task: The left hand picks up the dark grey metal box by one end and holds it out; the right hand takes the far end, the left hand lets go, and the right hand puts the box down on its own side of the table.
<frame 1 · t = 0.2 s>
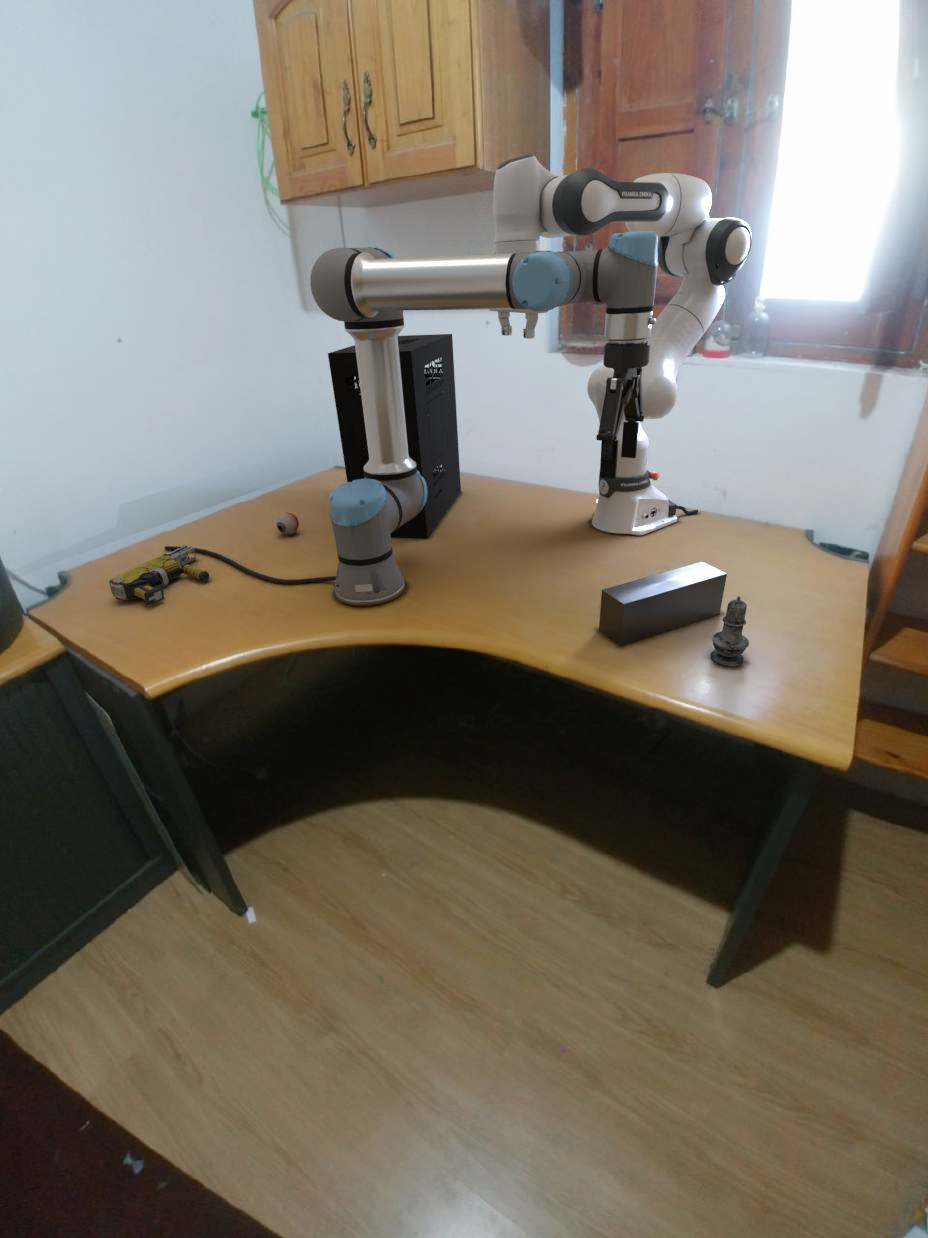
left hand: (618, 467, 111), 27 cm above the table, tool pointing down, fingers open, 13 cm apart
right hand: (517, 336, 125), 48 cm above the table, tool pointing down, fingers open, 8 cm apart
eyeball: (289, 534, 165), on the table
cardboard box: (412, 512, 176), on the table
box: (660, 621, 115), on the table
dark grey chess piece: (726, 658, 104), on the table
toy gun: (175, 583, 142), on the table
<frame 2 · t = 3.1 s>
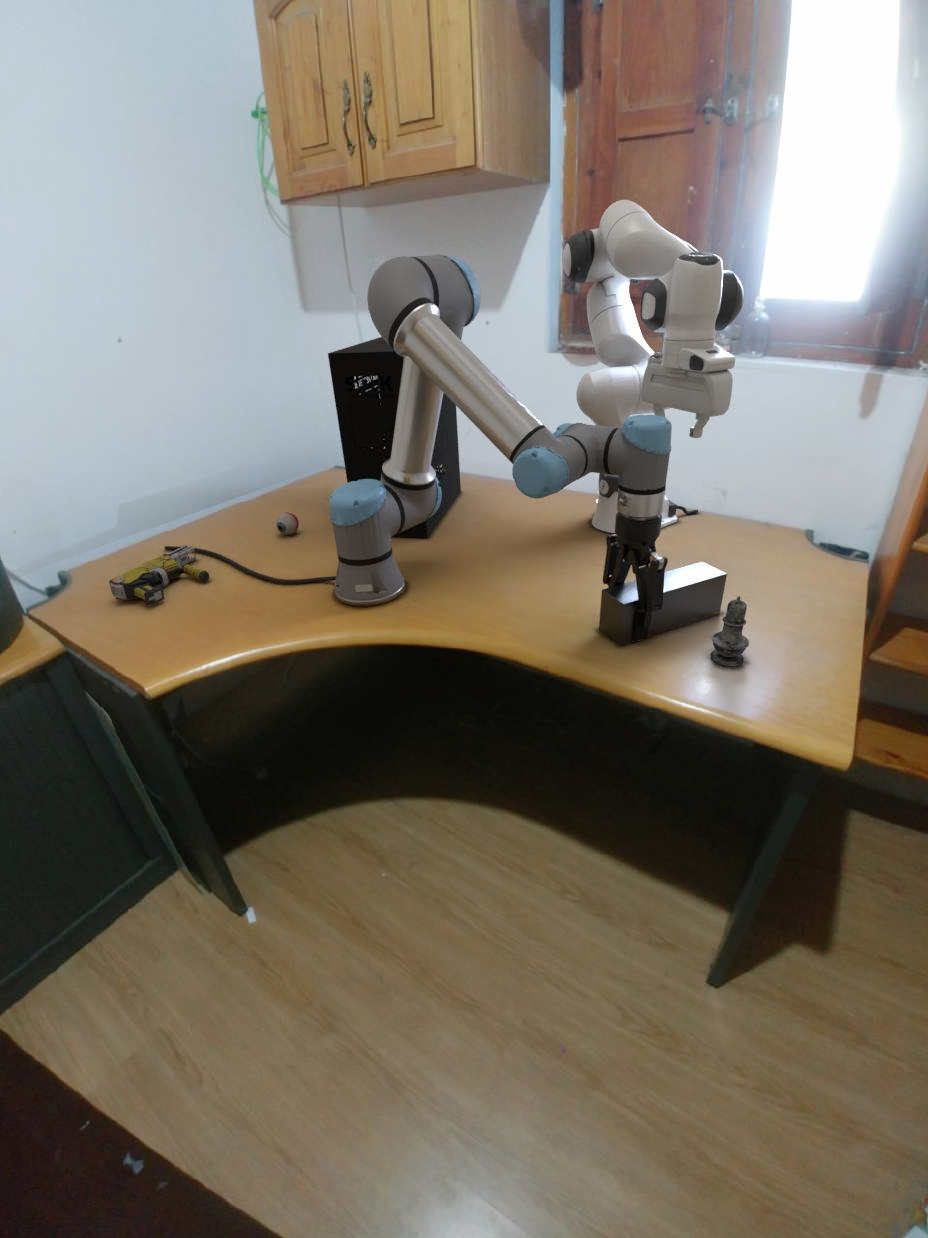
left hand: (627, 630, 113), 0 cm above the table, tool pointing down, fingers closed on box, 6 cm apart
right hand: (677, 432, 117), 31 cm above the table, tool pointing down, fingers open, 8 cm apart
box: (660, 621, 115), on the table, touching left hand
everything else where it was.
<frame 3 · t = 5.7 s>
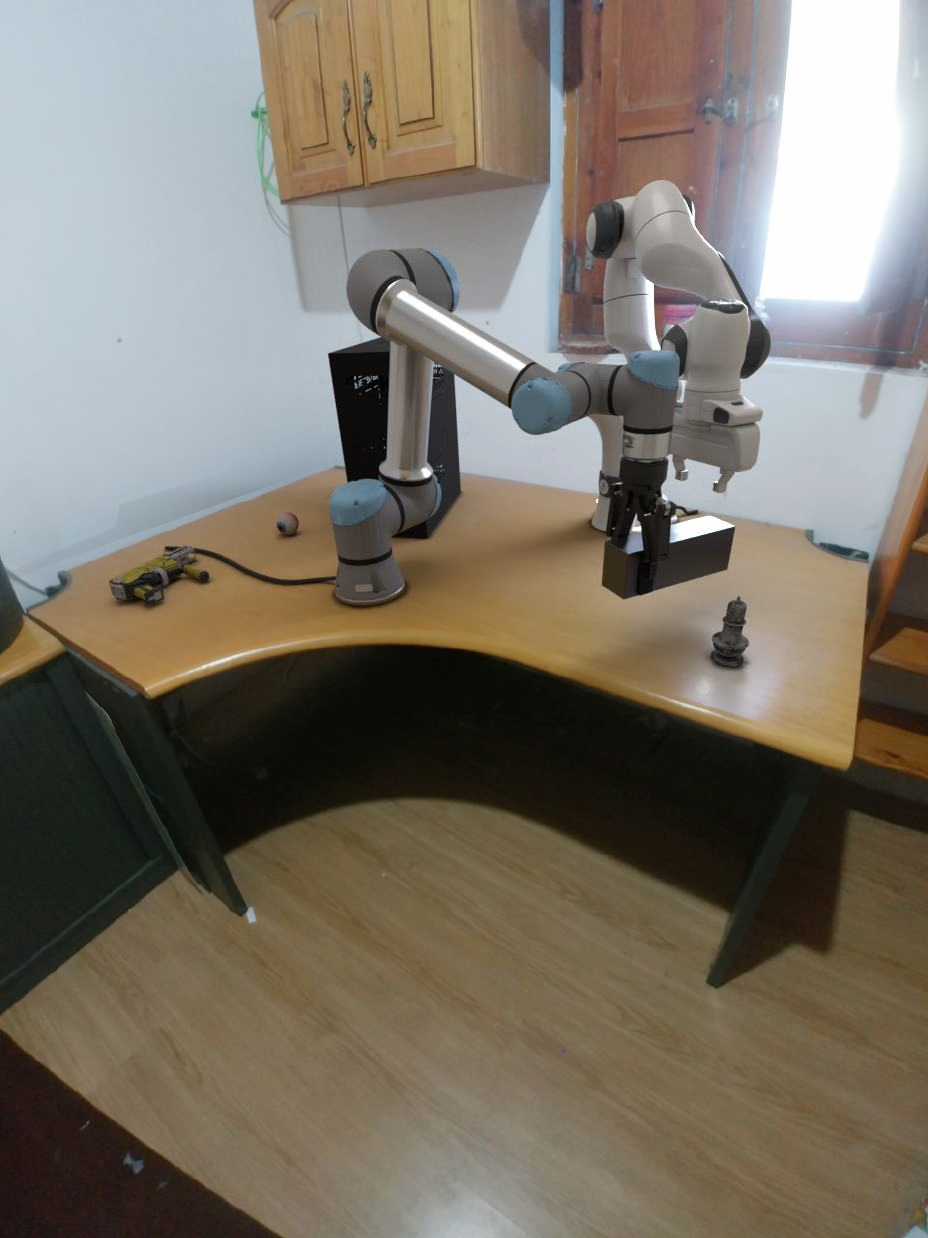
left hand: (631, 584, 108), 10 cm above the table, tool pointing down, fingers closed on box, 6 cm apart
right hand: (699, 485, 110), 24 cm above the table, tool pointing down, fingers open, 8 cm apart
box: (665, 577, 111), point 9 cm above the table, touching left hand
everything else where it was.
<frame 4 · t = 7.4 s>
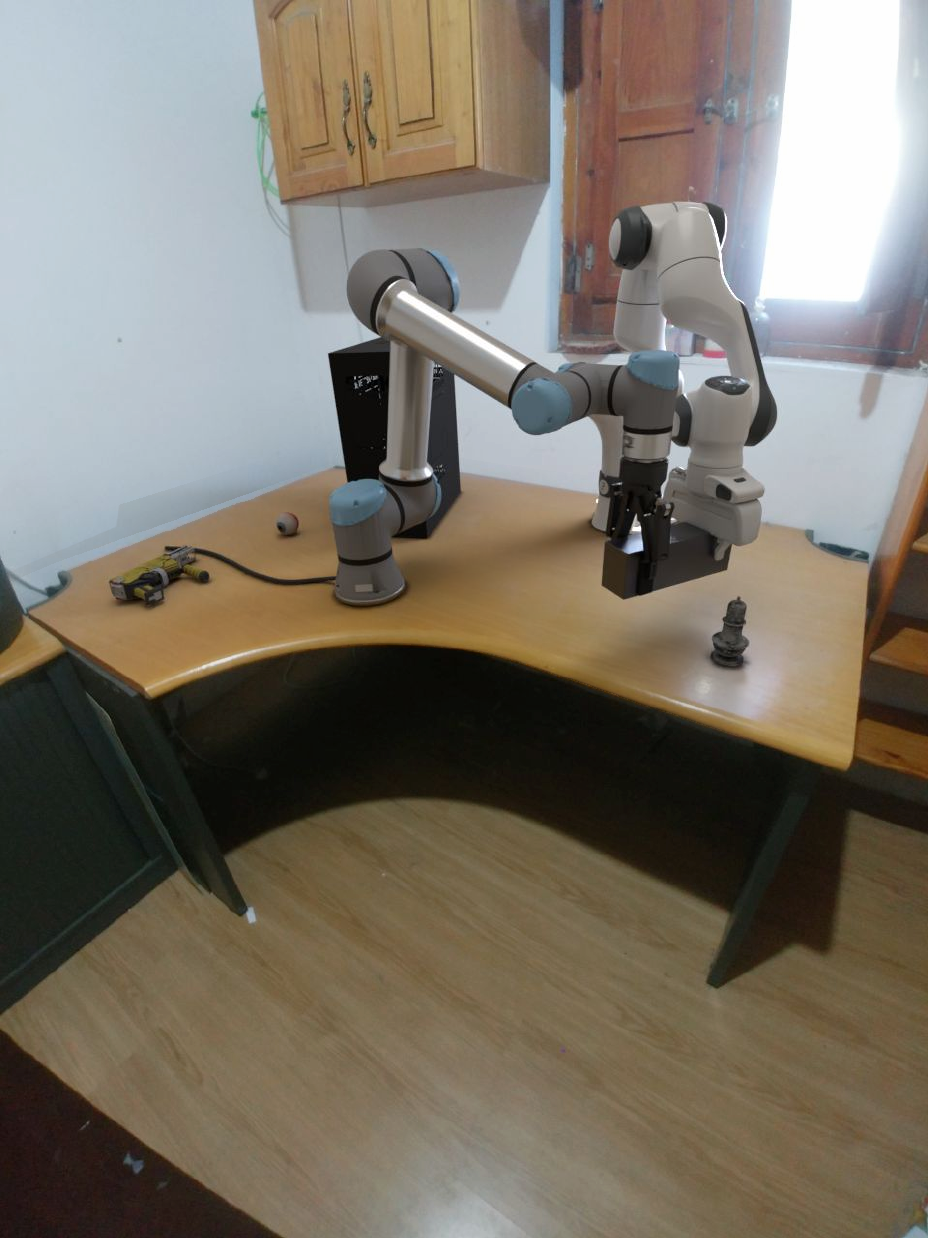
left hand: (631, 584, 108), 10 cm above the table, tool pointing down, fingers closed on box, 6 cm apart
right hand: (700, 551, 112), 13 cm above the table, tool pointing down, fingers closed on box, 6 cm apart
box: (665, 577, 111), point 9 cm above the table, touching right hand, left hand
everything else where it was.
when the left hand's fingers open (10 cm above the table, at t = 8.6 s): box stays where it is, held by the right hand.
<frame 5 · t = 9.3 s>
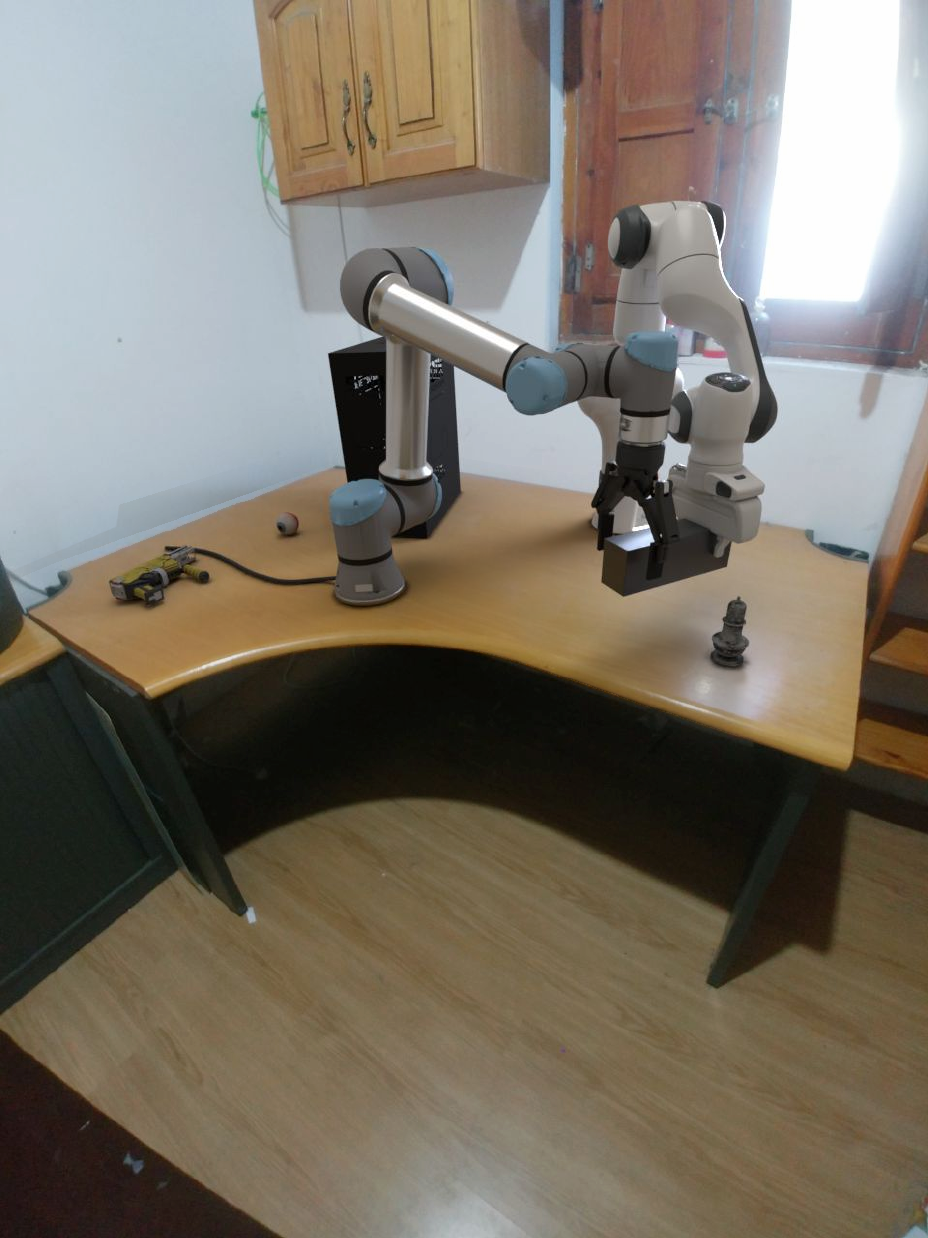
left hand: (627, 562, 106), 14 cm above the table, tool pointing down, fingers open, 13 cm apart
right hand: (700, 548, 112), 13 cm above the table, tool pointing down, fingers closed on box, 6 cm apart
box: (664, 574, 111), point 10 cm above the table, touching right hand
everything else where it was.
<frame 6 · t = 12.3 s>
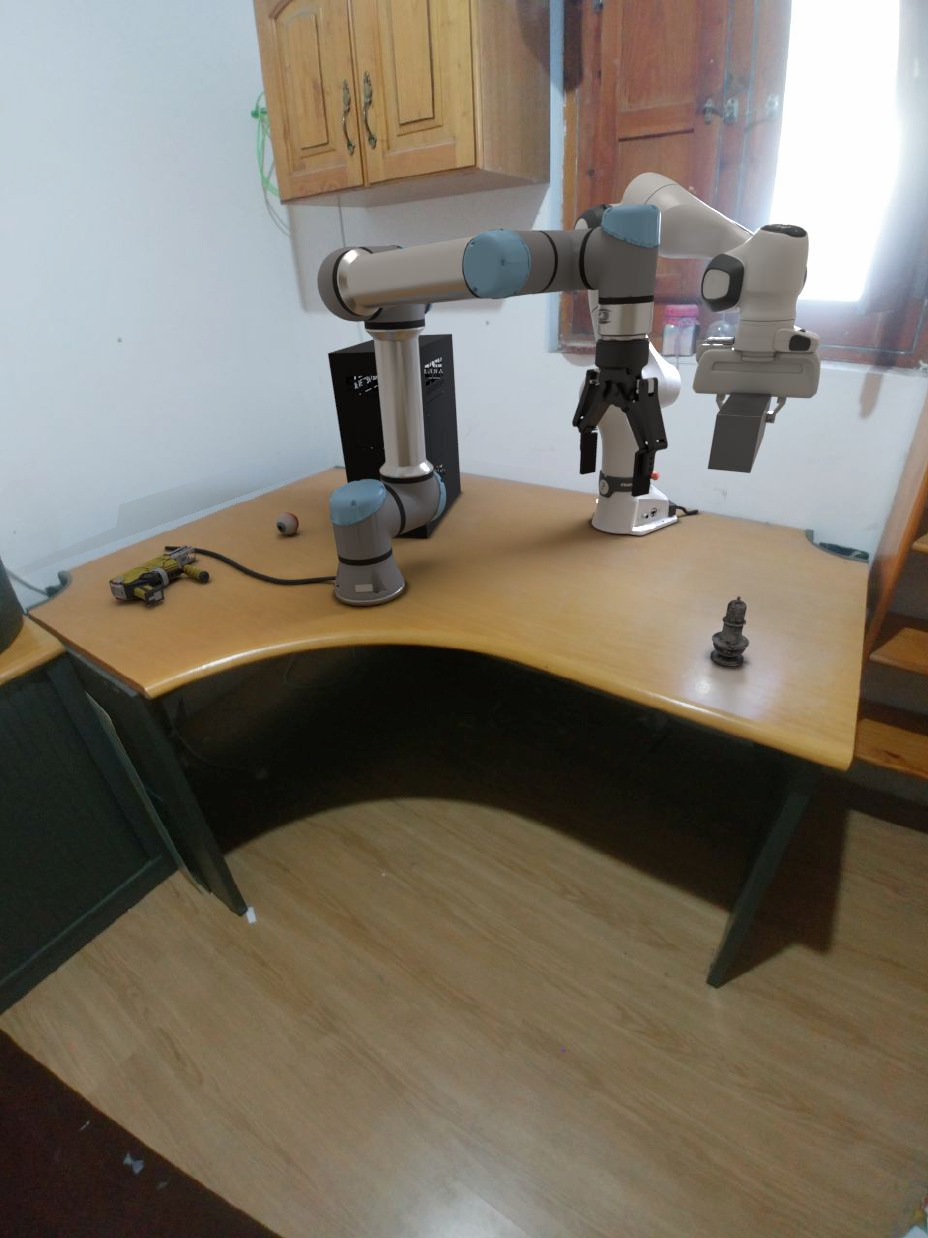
left hand: (612, 483, 96), 30 cm above the table, tool pointing down, fingers open, 13 cm apart
right hand: (746, 421, 110), 34 cm above the table, tool pointing down, fingers closed on box, 6 cm apart
box: (737, 451, 105), point 30 cm above the table, touching right hand
everything else where it was.
when the right hand's fingers open (5 cm above the table, at t = 17.5 s): box stays where it is, on the table.
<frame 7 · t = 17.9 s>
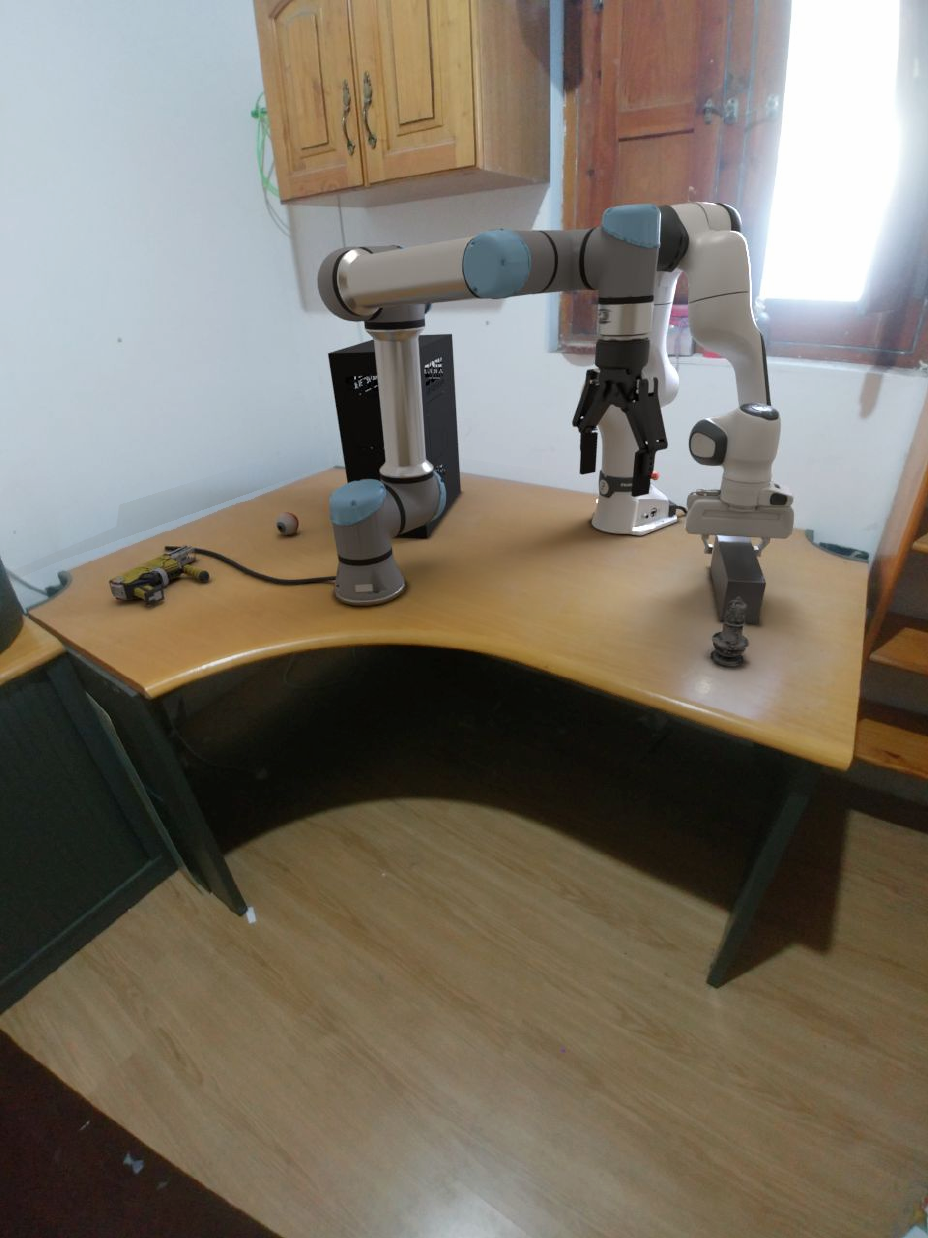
left hand: (612, 483, 96), 30 cm above the table, tool pointing down, fingers open, 13 cm apart
right hand: (731, 554, 127), 6 cm above the table, tool pointing down, fingers open, 8 cm apart
box: (731, 593, 123), on the table
everything else where it was.
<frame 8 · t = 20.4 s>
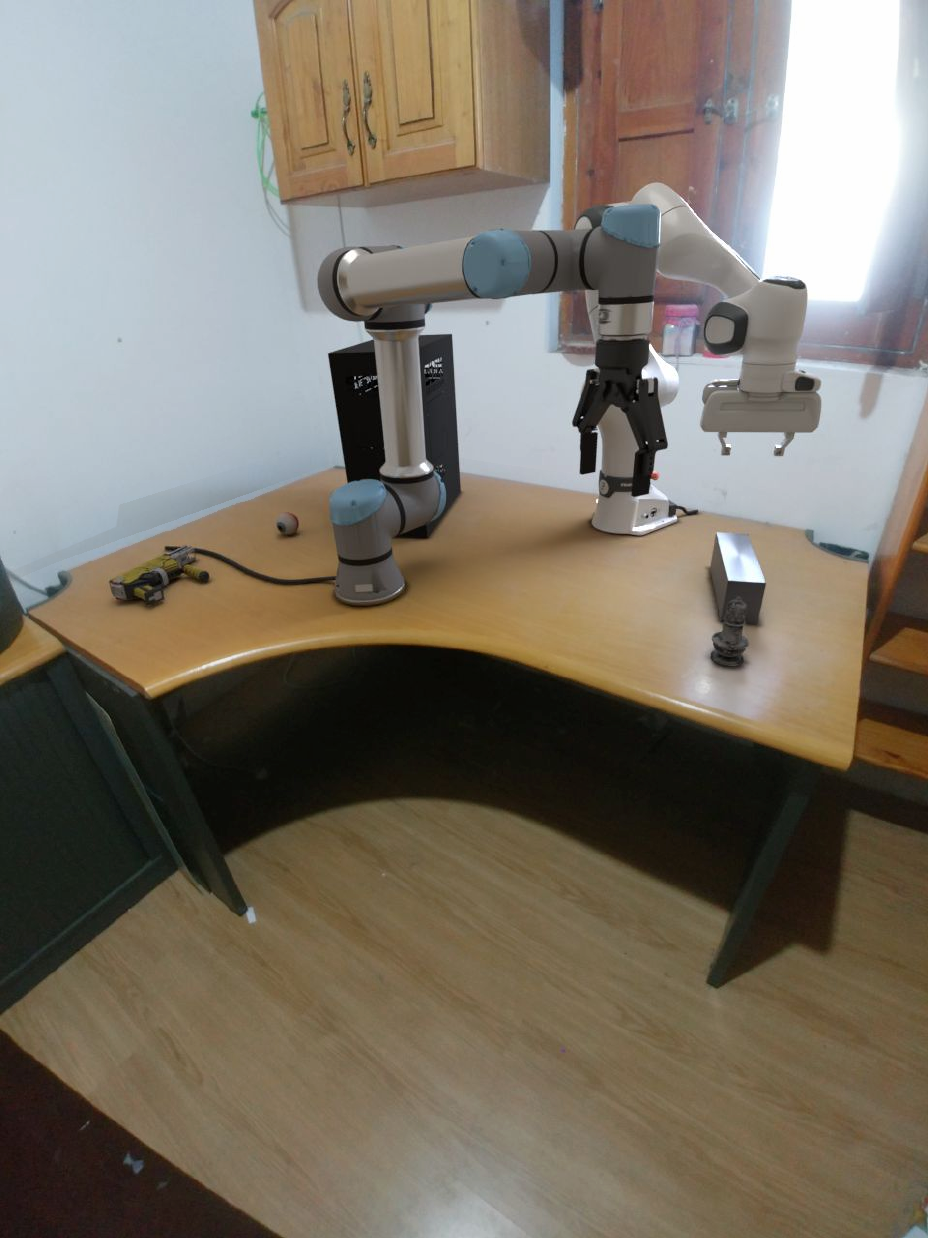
left hand: (612, 483, 96), 30 cm above the table, tool pointing down, fingers open, 13 cm apart
right hand: (751, 455, 116), 27 cm above the table, tool pointing down, fingers open, 8 cm apart
nothing on the table moved.
at the end: box inside the target area (7.2 cm from its centre), on the table; the left hand is holding nothing; the right hand is holding nothing; box at rest at the end (0.0 cm/s) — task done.
